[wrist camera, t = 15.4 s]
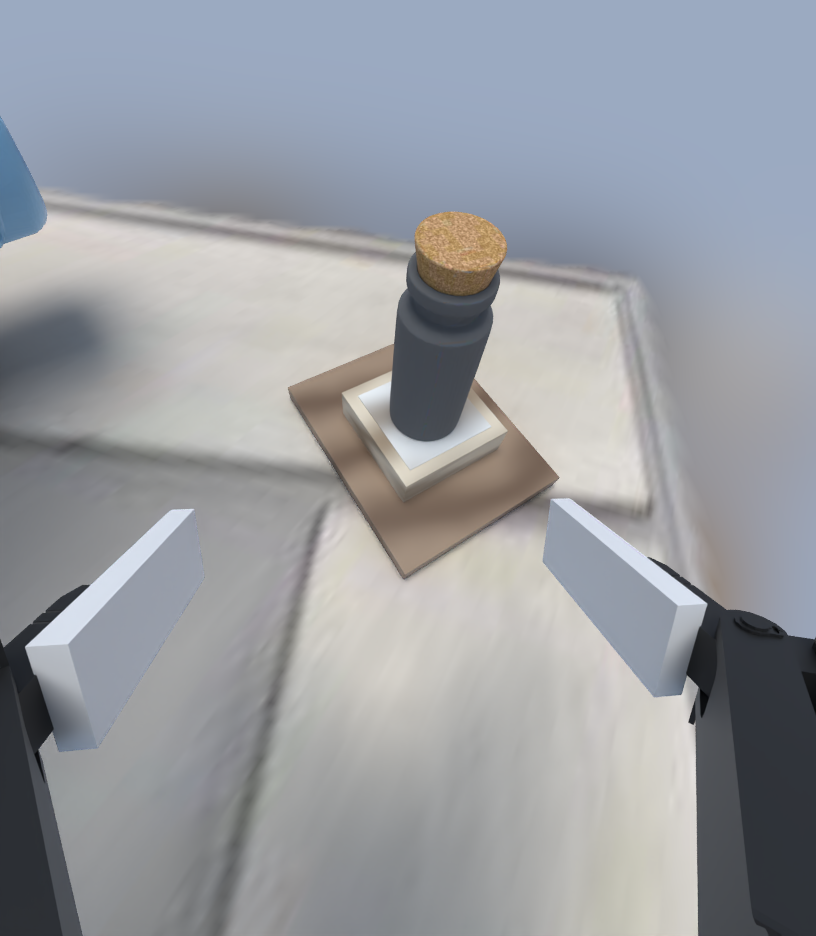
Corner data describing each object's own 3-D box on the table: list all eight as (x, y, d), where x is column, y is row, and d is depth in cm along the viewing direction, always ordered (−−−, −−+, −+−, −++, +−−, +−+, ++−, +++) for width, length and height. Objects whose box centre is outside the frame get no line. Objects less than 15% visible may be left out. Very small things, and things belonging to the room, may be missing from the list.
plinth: (290, 397, 39) (281, 364, 35) (428, 339, 44) (435, 304, 40) (403, 579, 32) (409, 564, 28) (552, 484, 37) (575, 460, 33)
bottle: (451, 381, 35) (502, 203, 22) (465, 439, 33) (532, 277, 20) (384, 385, 35) (395, 203, 21) (393, 445, 32) (412, 279, 19)
